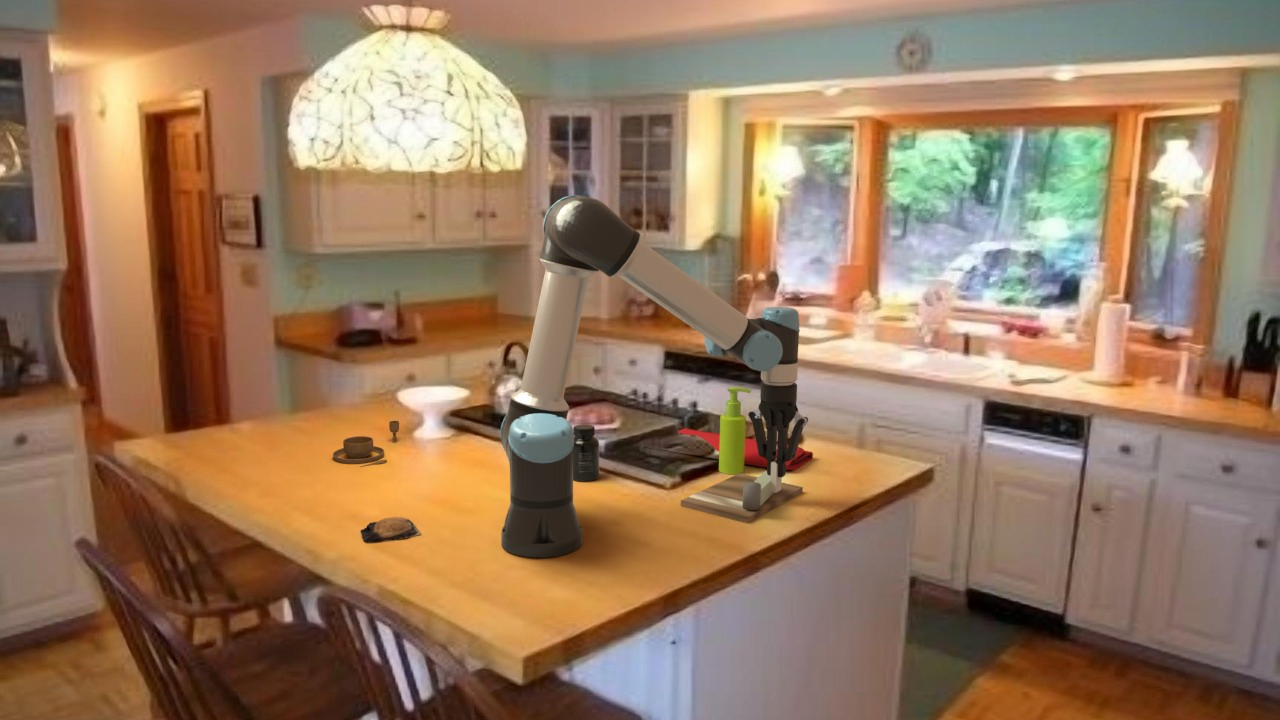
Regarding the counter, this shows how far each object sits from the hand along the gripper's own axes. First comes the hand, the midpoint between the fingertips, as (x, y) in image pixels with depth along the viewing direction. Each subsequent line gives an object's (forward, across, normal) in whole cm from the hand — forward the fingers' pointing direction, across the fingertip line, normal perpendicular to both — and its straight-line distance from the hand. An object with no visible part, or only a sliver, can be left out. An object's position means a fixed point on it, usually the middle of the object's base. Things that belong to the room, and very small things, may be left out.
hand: (775, 490), depth 200 cm
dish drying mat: (+3, +26, -27) cm, 38 cm away
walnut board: (+3, +7, +2) cm, 7 cm away
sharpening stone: (+1, +2, +3) cm, 4 cm away
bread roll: (+3, +53, +59) cm, 79 cm away
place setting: (+2, +96, +25) cm, 99 cm away
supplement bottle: (+2, +43, +10) cm, 44 cm away
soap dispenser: (+2, +18, -14) cm, 23 cm away
